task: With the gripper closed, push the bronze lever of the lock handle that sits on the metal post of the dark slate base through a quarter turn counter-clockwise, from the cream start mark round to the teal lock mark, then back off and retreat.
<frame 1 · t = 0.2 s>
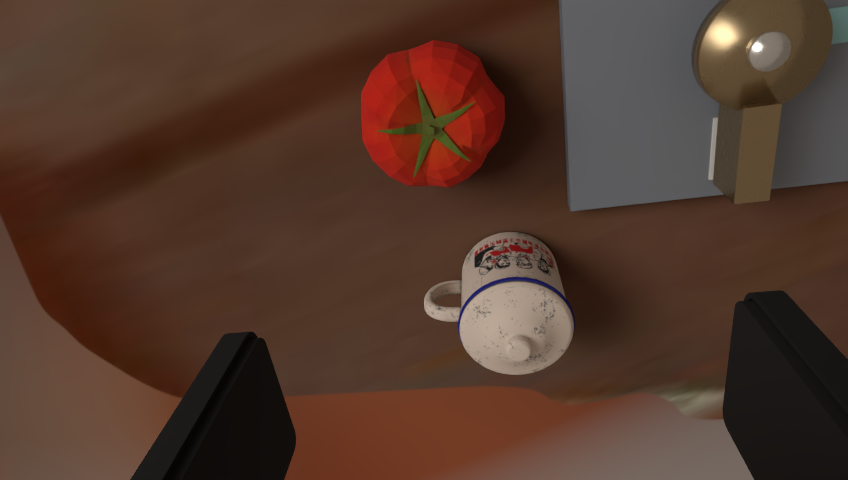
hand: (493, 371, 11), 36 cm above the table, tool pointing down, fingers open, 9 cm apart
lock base: (728, 36, 41), on the table
tomato: (435, 103, 46), on the table
lock handle: (750, 95, 39), point 5 cm above the table, hinge at 0.0°
teacup with lid: (493, 270, 52), on the table
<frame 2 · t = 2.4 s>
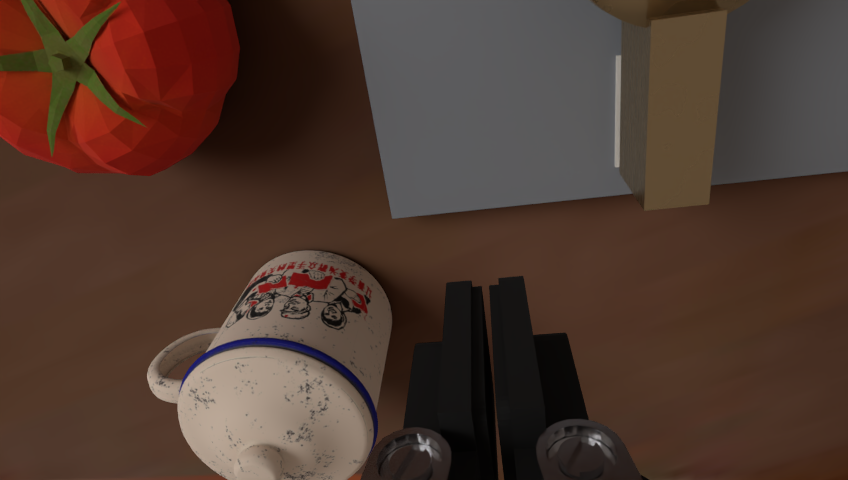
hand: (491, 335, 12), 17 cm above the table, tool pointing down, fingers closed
tomato: (151, 33, 27), on the table
lock handle: (671, 1, 20), point 4 cm above the table, hinge at 0.0°
teacup with lid: (296, 308, 33), on the table
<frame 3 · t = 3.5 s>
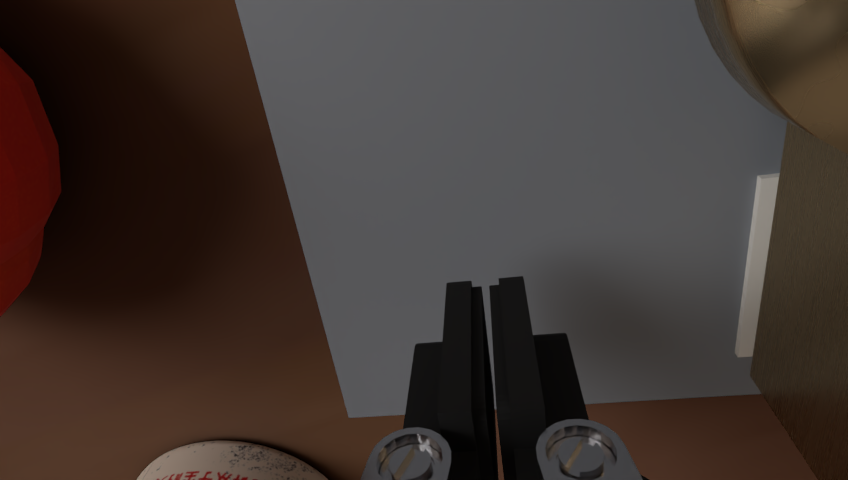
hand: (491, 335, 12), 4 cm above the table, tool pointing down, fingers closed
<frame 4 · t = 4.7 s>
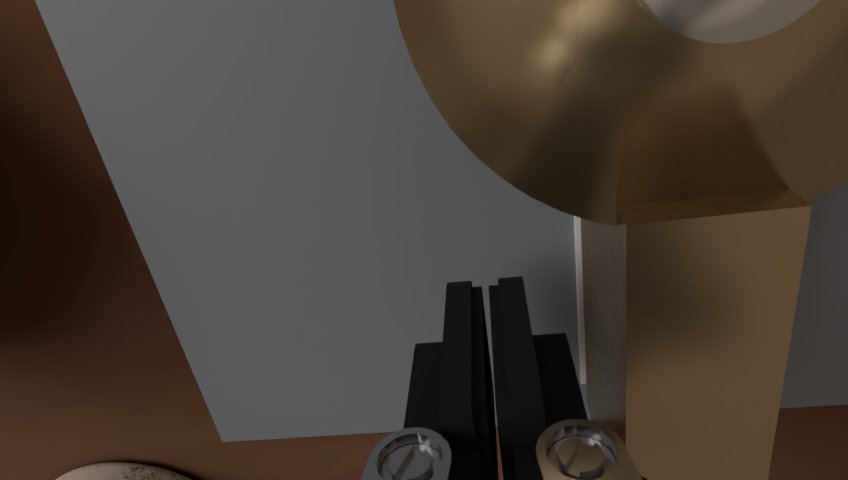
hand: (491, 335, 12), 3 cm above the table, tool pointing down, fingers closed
lock handle: (673, 153, 9), point 4 cm above the table, hinge at 0.1°, touching gripper
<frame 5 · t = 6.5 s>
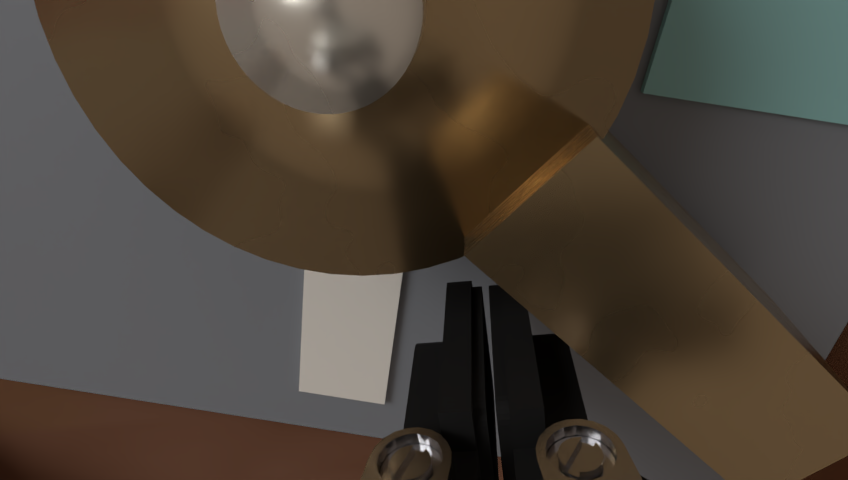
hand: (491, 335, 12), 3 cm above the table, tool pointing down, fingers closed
lock handle: (505, 144, 9), point 5 cm above the table, hinge at 55.5°, touching gripper
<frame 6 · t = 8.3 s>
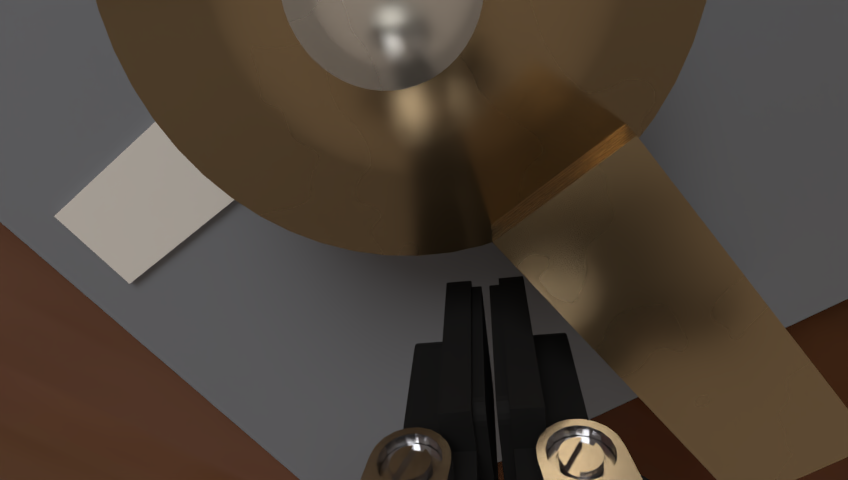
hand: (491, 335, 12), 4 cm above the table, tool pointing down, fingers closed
lock handle: (535, 137, 9), point 5 cm above the table, hinge at 94.7°
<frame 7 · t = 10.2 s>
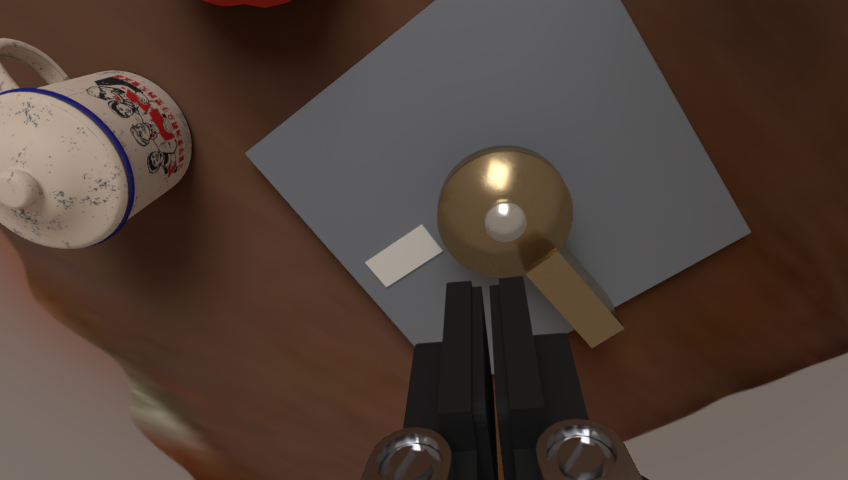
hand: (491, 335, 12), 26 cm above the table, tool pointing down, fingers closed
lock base: (498, 185, 39), on the table
lock handle: (535, 246, 36), point 5 cm above the table, hinge at 94.7°
teacup with lid: (118, 115, 38), on the table
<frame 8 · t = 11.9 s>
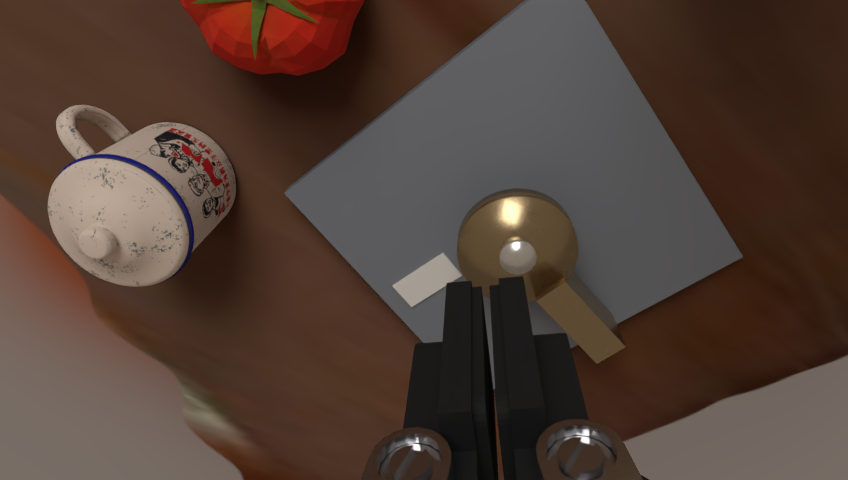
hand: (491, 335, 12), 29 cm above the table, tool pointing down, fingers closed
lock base: (511, 216, 43), on the table
lock handle: (544, 274, 40), point 4 cm above the table, hinge at 94.7°
teacup with lid: (171, 159, 43), on the table
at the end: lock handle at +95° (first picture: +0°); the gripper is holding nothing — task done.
